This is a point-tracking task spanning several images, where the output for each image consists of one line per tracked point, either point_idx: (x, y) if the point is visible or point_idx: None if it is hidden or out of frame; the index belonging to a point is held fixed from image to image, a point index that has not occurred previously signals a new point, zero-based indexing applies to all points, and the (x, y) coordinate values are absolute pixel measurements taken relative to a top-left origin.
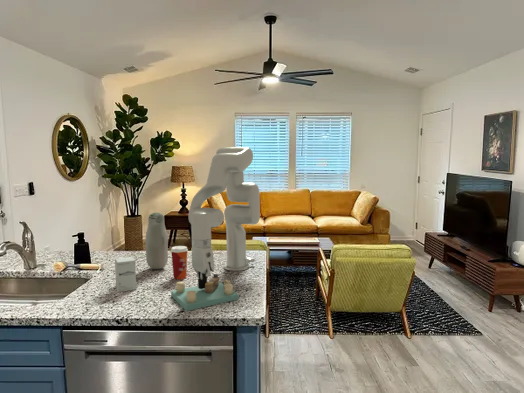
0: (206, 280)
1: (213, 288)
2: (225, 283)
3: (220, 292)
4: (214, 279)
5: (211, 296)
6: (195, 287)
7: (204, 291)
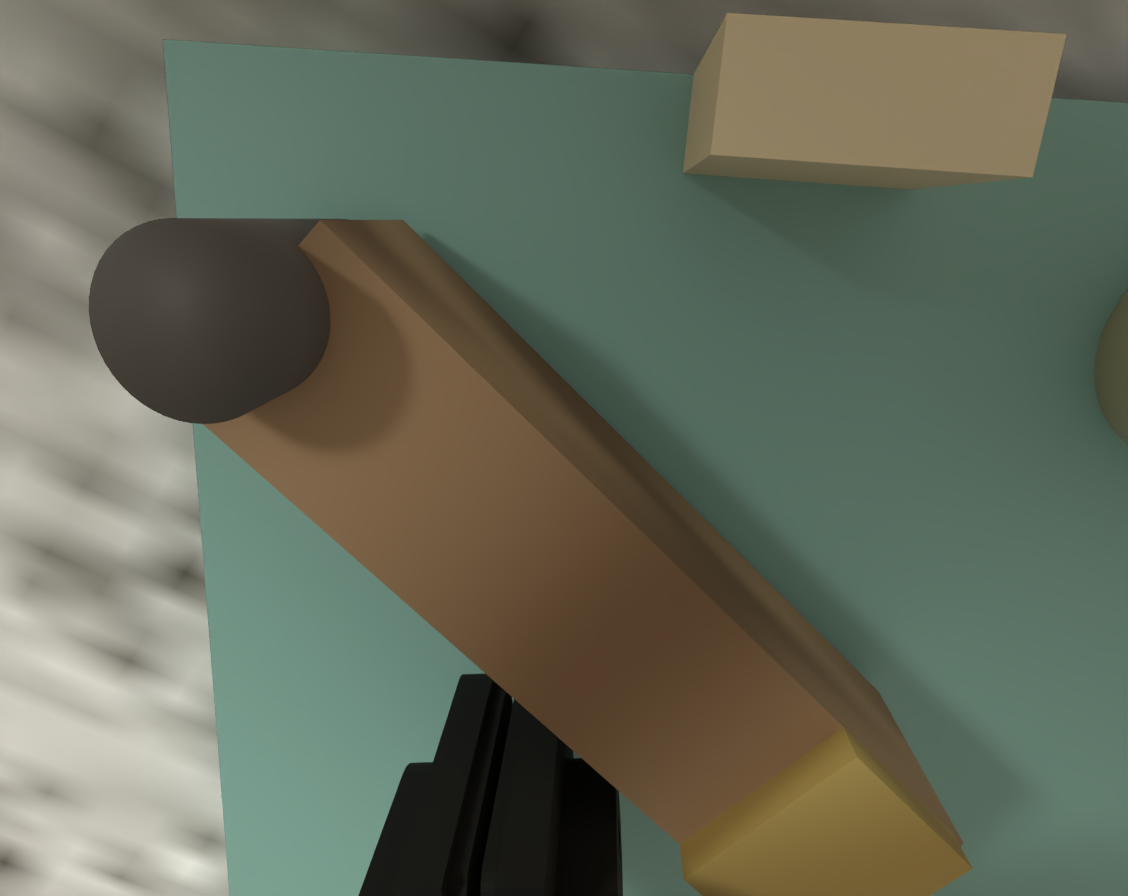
0: (556, 832)
1: (769, 597)
2: (796, 170)
3: (972, 479)
4: (500, 493)
5: (1036, 762)
6: (284, 761)
7: None
